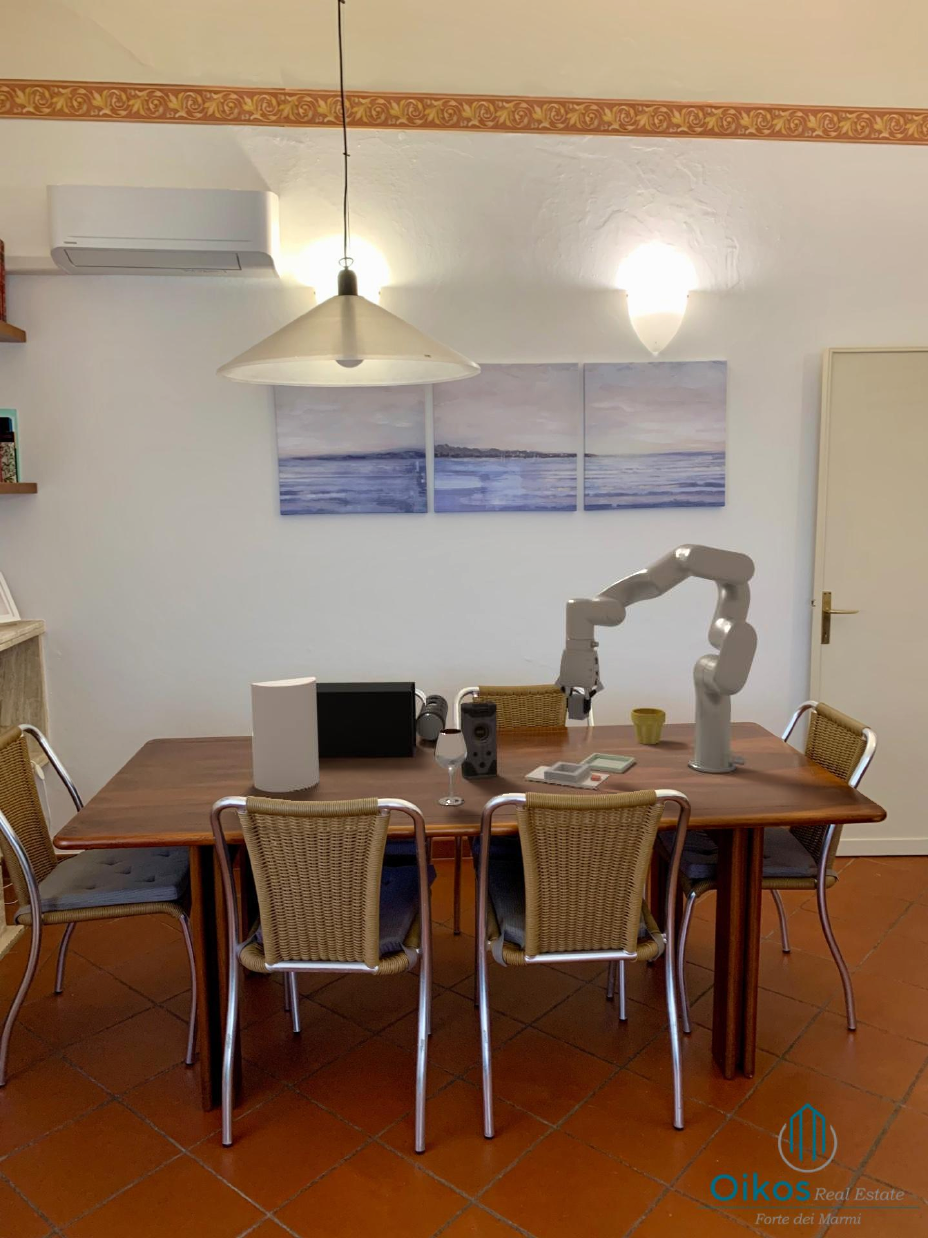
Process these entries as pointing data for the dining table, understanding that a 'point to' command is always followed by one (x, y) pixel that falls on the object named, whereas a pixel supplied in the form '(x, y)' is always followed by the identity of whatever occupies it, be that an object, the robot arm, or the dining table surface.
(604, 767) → the tray
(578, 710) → the plug
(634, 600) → the robot arm
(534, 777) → the plate with square socket
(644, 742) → the plant pot
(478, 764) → the electronic device
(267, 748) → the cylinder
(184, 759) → the dining table surface
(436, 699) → the muzzle brake
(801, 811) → the dining table surface
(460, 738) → the wineglass
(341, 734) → the uninterruptible power supply
